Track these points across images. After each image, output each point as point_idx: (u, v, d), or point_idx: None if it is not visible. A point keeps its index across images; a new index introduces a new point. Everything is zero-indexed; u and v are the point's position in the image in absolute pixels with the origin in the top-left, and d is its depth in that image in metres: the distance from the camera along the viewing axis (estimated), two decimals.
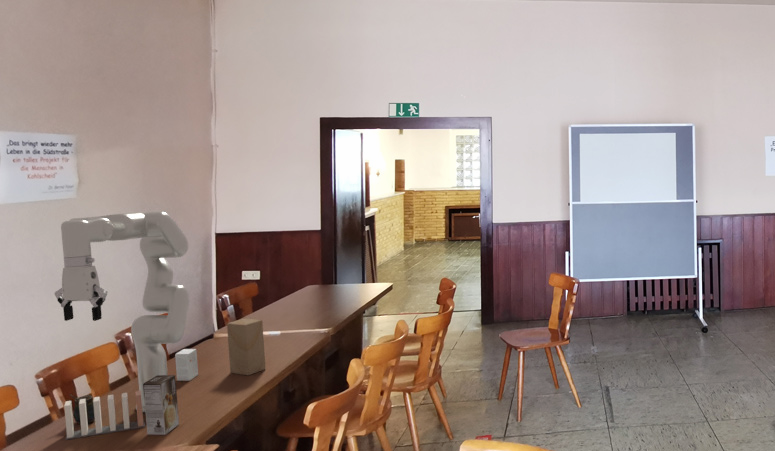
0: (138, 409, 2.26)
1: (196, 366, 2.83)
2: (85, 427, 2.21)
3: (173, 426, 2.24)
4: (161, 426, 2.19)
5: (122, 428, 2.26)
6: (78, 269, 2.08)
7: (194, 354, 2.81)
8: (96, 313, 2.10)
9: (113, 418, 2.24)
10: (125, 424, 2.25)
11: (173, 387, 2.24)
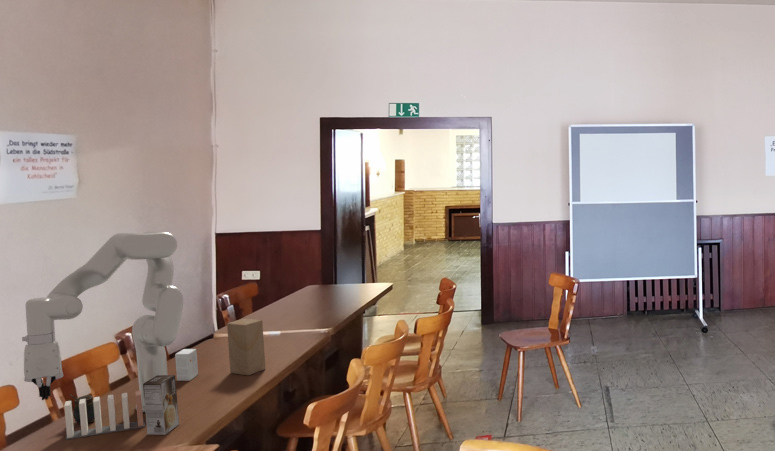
0: (138, 409, 2.26)
1: (196, 366, 2.83)
2: (85, 427, 2.21)
3: (173, 426, 2.24)
4: (161, 426, 2.19)
5: (122, 428, 2.26)
6: None
7: (194, 354, 2.81)
8: None
9: (113, 418, 2.24)
10: (125, 424, 2.25)
11: (173, 387, 2.24)
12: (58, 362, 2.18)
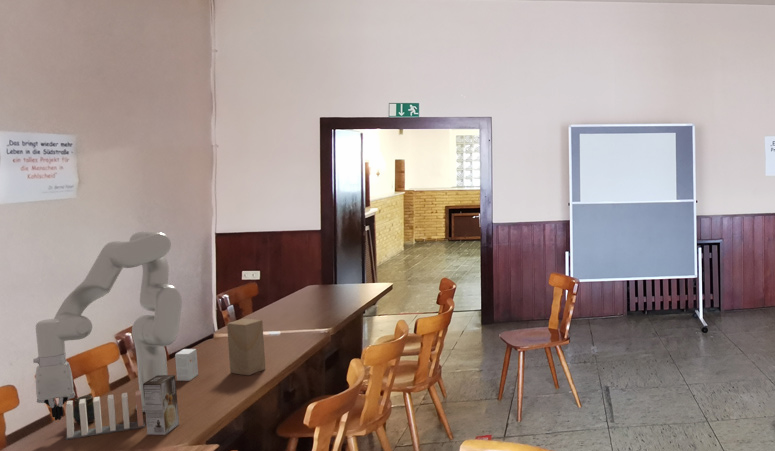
0: (138, 409, 2.26)
1: (196, 366, 2.83)
2: (85, 427, 2.21)
3: (173, 426, 2.24)
4: (161, 426, 2.19)
5: (122, 428, 2.26)
6: None
7: (194, 354, 2.81)
8: None
9: (113, 418, 2.24)
10: (125, 424, 2.25)
11: (173, 387, 2.24)
12: (70, 383, 2.19)
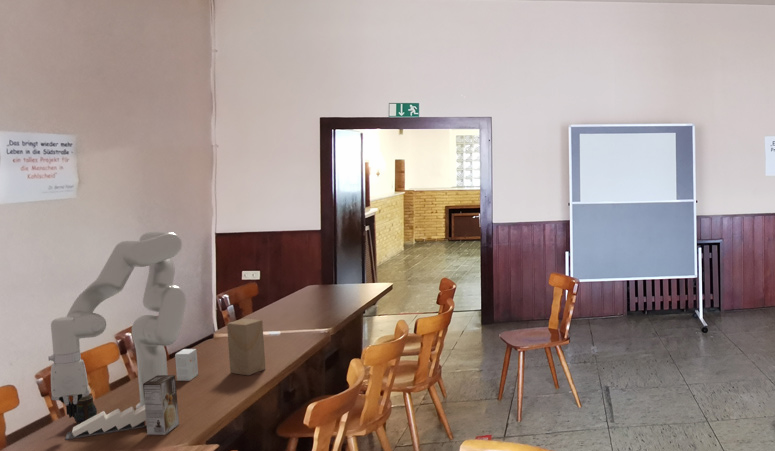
0: None
1: (196, 366, 2.83)
2: (96, 429, 2.22)
3: (173, 426, 2.24)
4: (161, 426, 2.19)
5: (122, 428, 2.26)
6: None
7: (194, 354, 2.81)
8: None
9: (129, 422, 2.25)
10: (134, 422, 2.26)
11: (173, 387, 2.24)
12: (84, 380, 2.20)
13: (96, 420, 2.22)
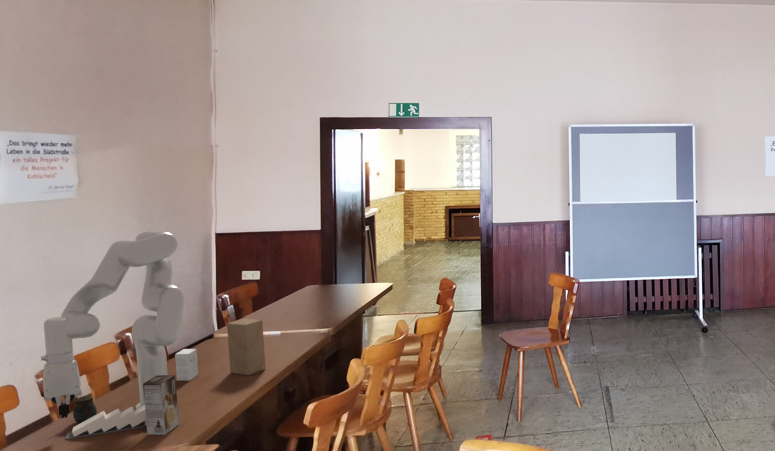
0: None
1: (196, 366, 2.83)
2: (96, 429, 2.22)
3: (173, 426, 2.24)
4: (161, 426, 2.19)
5: (122, 428, 2.26)
6: None
7: (194, 354, 2.81)
8: None
9: (129, 422, 2.25)
10: (134, 422, 2.26)
11: (173, 387, 2.24)
12: (77, 381, 2.20)
13: (96, 420, 2.22)
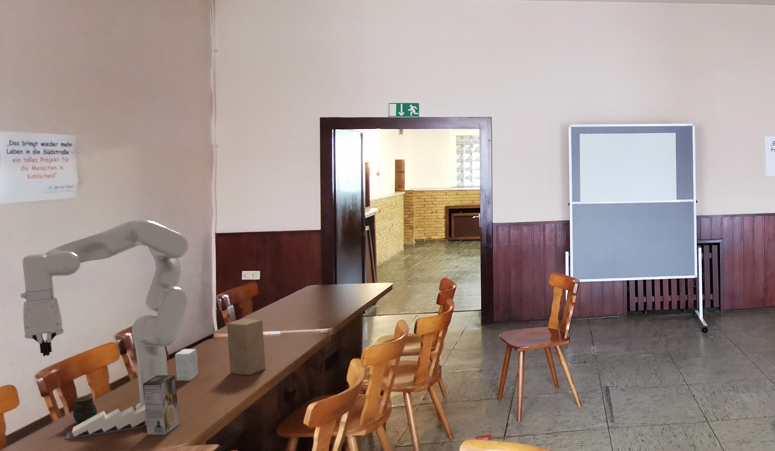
0: None
1: (196, 366, 2.83)
2: (96, 429, 2.22)
3: (173, 426, 2.24)
4: (161, 426, 2.19)
5: (122, 428, 2.26)
6: None
7: (194, 354, 2.81)
8: None
9: (129, 422, 2.25)
10: (134, 422, 2.26)
11: (173, 387, 2.24)
12: (58, 318, 2.17)
13: (96, 420, 2.22)
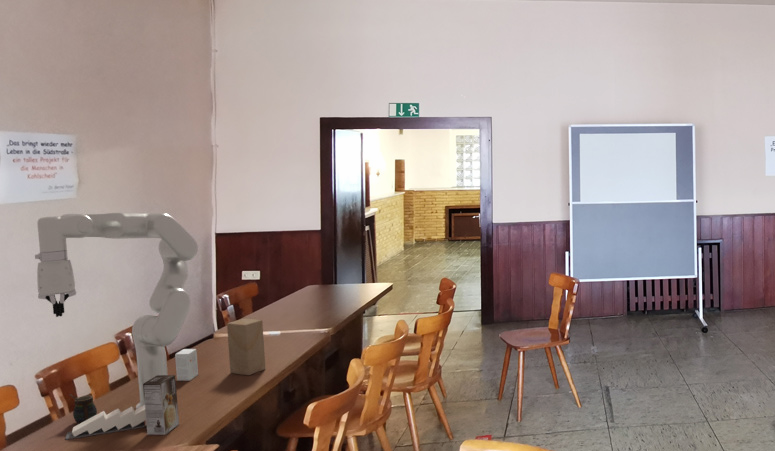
0: None
1: (196, 366, 2.83)
2: (96, 429, 2.22)
3: (173, 426, 2.24)
4: (161, 426, 2.19)
5: (122, 428, 2.26)
6: None
7: (194, 354, 2.81)
8: None
9: (129, 422, 2.25)
10: (134, 422, 2.26)
11: (173, 387, 2.24)
12: (71, 279, 2.20)
13: (96, 420, 2.22)
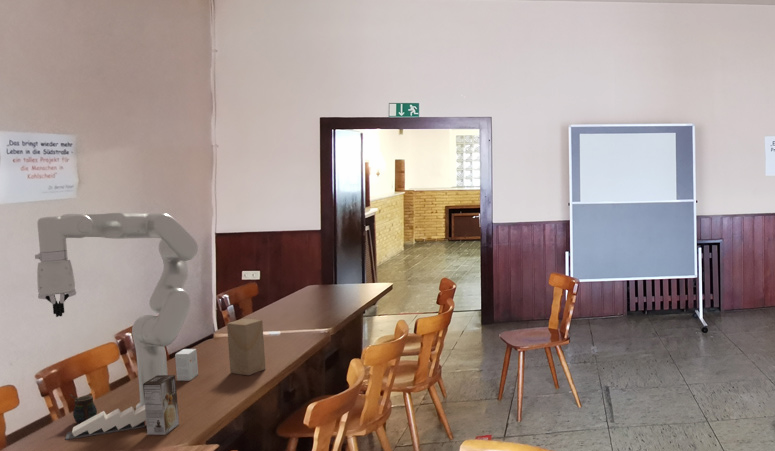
0: None
1: (196, 366, 2.83)
2: (96, 429, 2.22)
3: (173, 426, 2.24)
4: (161, 426, 2.19)
5: (122, 428, 2.26)
6: None
7: (194, 354, 2.81)
8: None
9: (129, 422, 2.25)
10: (134, 422, 2.26)
11: (173, 387, 2.24)
12: (71, 279, 2.20)
13: (96, 420, 2.22)
